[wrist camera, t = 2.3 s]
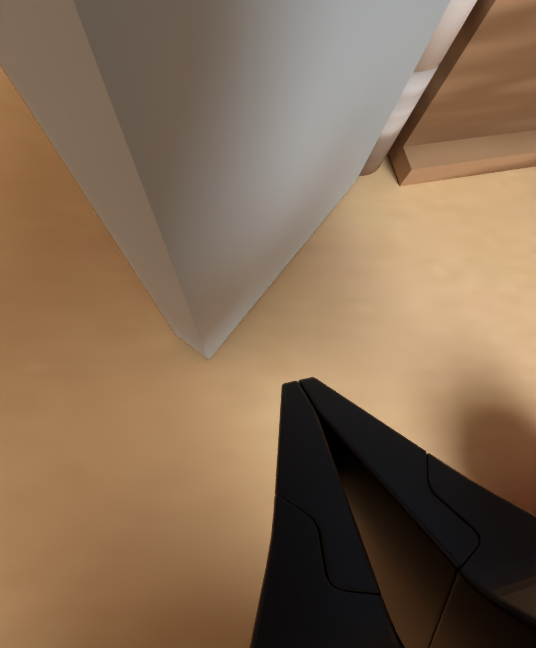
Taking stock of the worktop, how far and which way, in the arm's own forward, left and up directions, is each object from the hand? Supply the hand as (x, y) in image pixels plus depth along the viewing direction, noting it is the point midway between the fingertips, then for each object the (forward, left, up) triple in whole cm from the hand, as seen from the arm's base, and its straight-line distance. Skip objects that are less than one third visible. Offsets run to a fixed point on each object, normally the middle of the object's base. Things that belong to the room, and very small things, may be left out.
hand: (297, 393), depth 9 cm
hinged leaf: (+9, +3, -8) cm, 12 cm away
